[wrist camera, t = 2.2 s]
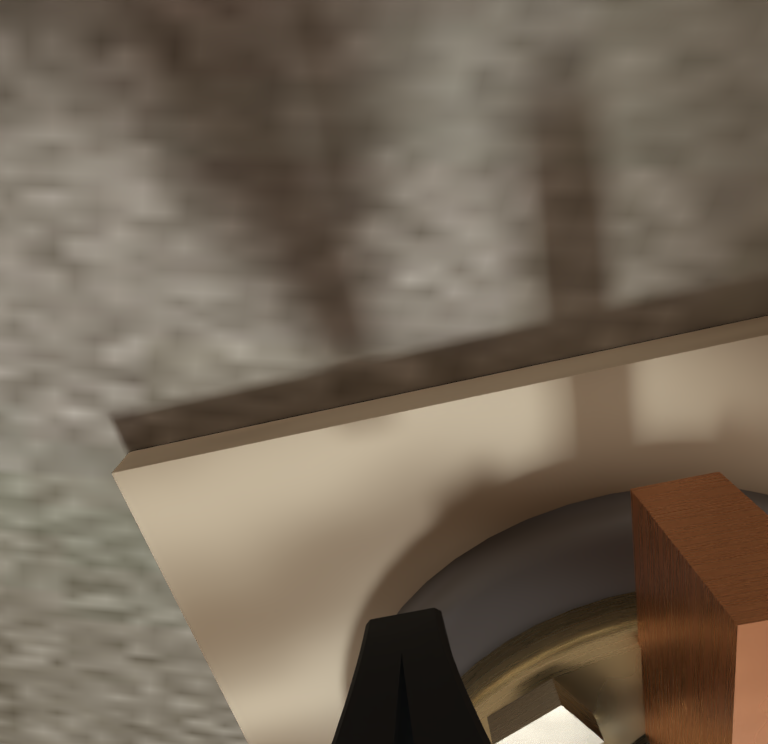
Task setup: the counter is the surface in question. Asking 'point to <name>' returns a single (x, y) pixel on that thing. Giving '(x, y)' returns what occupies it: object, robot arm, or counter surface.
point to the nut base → (435, 511)
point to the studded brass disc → (650, 637)
